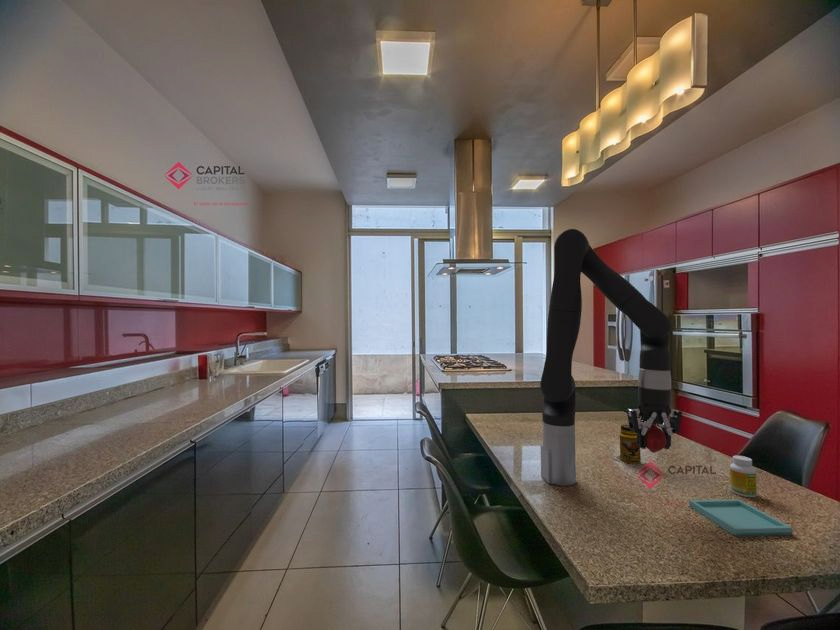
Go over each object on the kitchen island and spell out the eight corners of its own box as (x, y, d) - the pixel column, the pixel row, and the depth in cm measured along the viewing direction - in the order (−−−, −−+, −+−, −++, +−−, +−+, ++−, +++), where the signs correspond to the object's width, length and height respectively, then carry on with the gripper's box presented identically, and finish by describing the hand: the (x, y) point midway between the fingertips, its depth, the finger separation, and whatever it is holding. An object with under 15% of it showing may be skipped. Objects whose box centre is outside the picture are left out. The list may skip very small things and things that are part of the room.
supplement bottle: (751, 499, 96) (750, 462, 96) (726, 491, 101) (725, 456, 101) (760, 495, 98) (759, 459, 99) (736, 487, 103) (734, 453, 103)
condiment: (632, 466, 119) (631, 430, 119) (609, 458, 126) (609, 423, 127) (647, 463, 121) (646, 427, 122) (624, 455, 129) (623, 421, 130)
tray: (735, 536, 79) (735, 529, 79) (689, 506, 92) (689, 500, 92) (792, 535, 80) (792, 527, 80) (738, 505, 93) (738, 499, 93)
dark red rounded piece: (670, 457, 94) (671, 426, 94) (646, 455, 95) (646, 425, 95) (660, 449, 99) (660, 420, 100) (637, 447, 101) (638, 419, 101)
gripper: (637, 388, 93) (636, 453, 93) (691, 388, 94) (690, 453, 94) (620, 383, 101) (619, 443, 101) (670, 383, 101) (669, 443, 101)
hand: (653, 447), depth 97 cm, fingers closed on dark red rounded piece, 6 cm apart
